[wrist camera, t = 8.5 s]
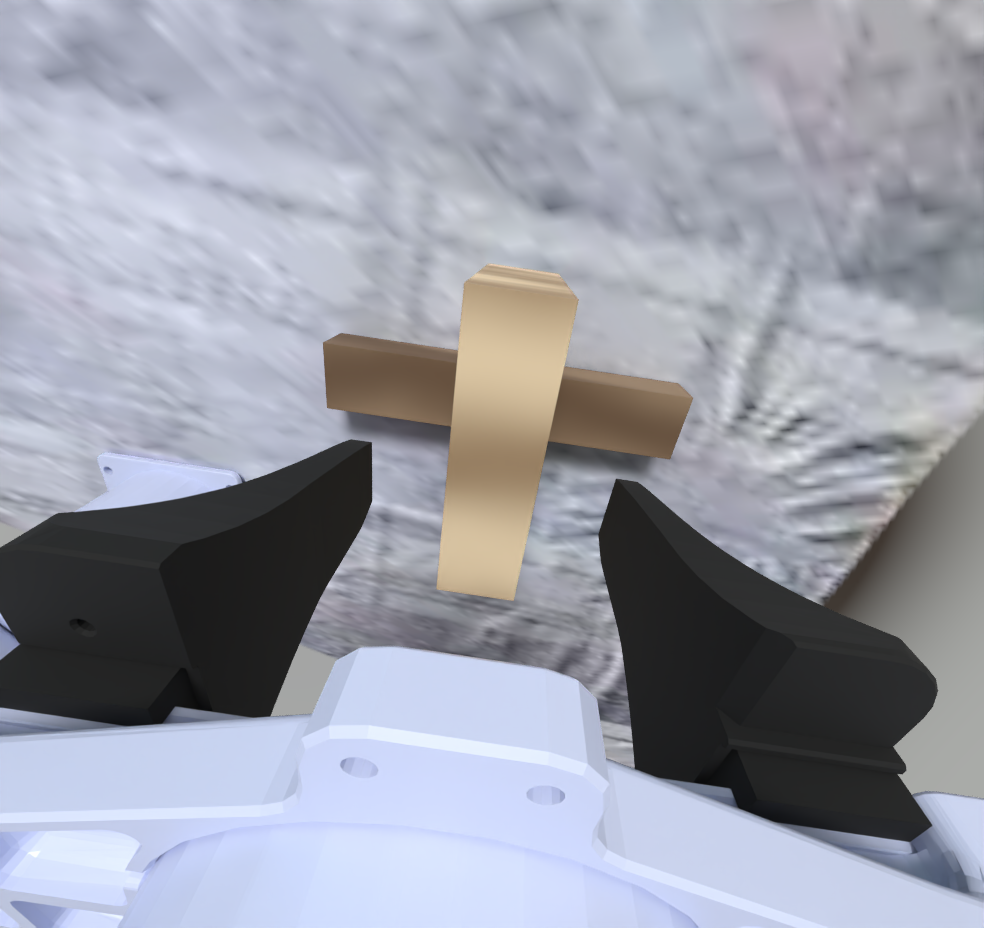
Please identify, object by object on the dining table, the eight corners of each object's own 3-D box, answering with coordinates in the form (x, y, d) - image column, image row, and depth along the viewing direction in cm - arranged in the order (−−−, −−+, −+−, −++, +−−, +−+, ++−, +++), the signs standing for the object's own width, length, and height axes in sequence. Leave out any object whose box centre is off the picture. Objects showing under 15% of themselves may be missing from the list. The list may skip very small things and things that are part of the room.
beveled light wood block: (517, 490, 23) (513, 600, 16) (463, 482, 23) (436, 589, 16) (558, 273, 18) (578, 299, 11) (488, 263, 18) (464, 282, 11)
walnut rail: (658, 440, 21) (669, 459, 20) (343, 393, 21) (327, 408, 20) (678, 383, 20) (693, 398, 18) (341, 333, 20) (322, 342, 18)
